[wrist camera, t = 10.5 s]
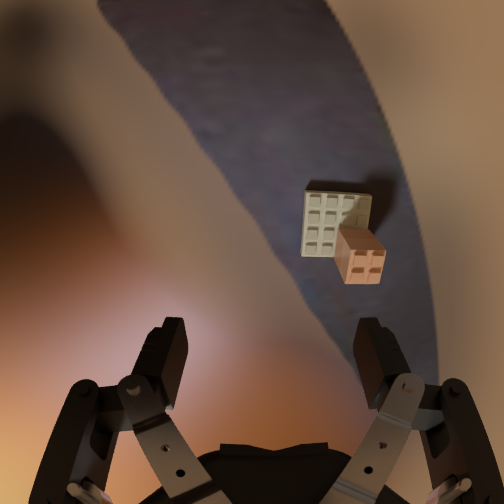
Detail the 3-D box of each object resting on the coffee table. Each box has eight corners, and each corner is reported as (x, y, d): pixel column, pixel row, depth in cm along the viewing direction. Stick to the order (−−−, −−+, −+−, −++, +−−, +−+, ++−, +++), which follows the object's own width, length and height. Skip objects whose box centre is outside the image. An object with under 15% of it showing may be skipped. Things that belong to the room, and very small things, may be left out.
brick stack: (337, 228, 35) (352, 251, 29) (368, 229, 35) (388, 252, 29) (333, 258, 36) (346, 286, 31) (363, 259, 36) (380, 286, 30)
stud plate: (304, 190, 35) (306, 193, 33) (368, 193, 34) (373, 197, 33) (300, 252, 38) (301, 257, 37) (360, 253, 38) (363, 258, 36)
